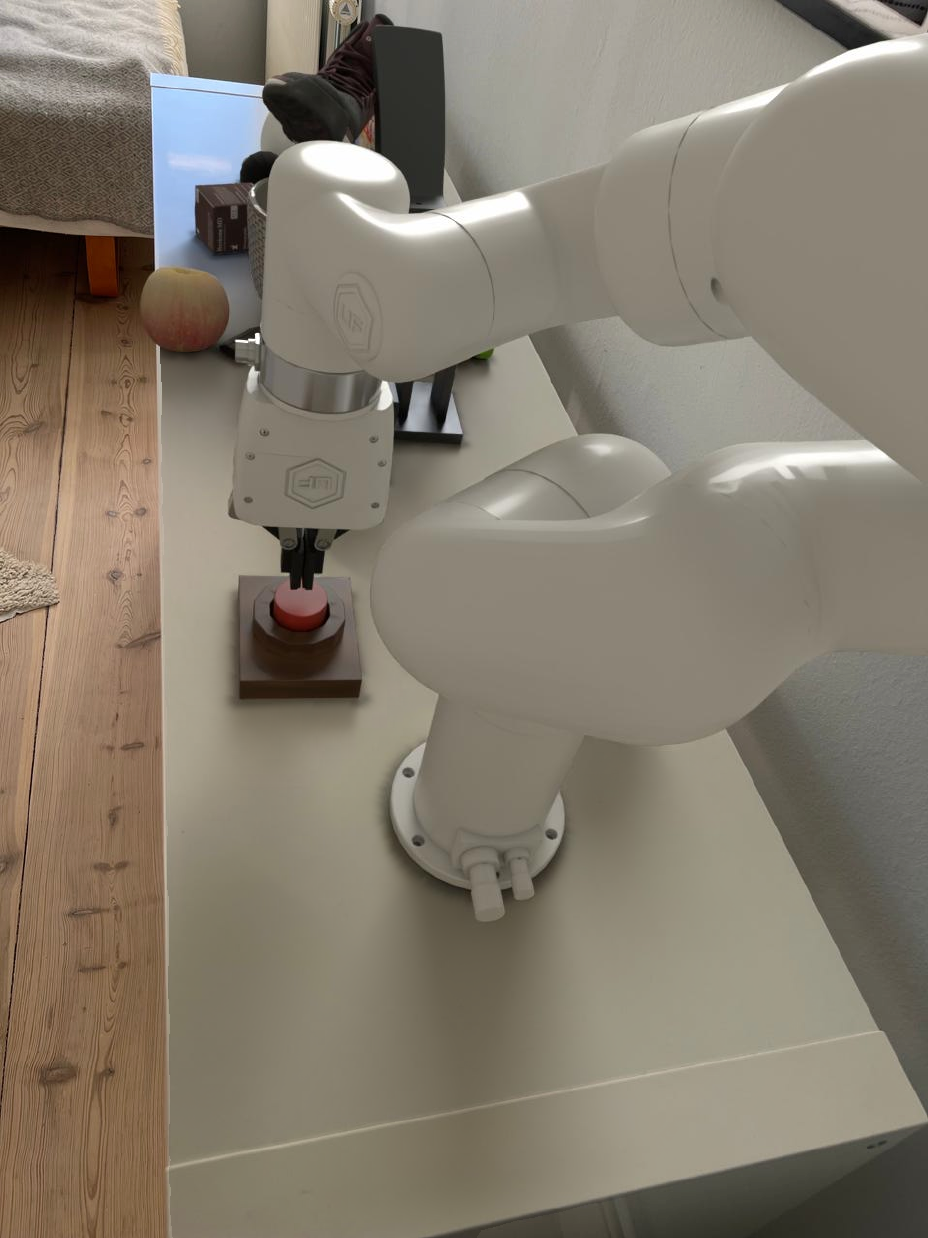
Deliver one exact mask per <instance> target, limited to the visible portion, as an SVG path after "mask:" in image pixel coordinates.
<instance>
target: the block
mask: <svg viewBox="0 0 928 1238" xmlns="http://www.w3.org/2000/svg"><path fill="white" fill-rule="evenodd" d="M255 333H259V334H260V325H257V326H253V327H249V328H247V329H245V330H243V331H242V332H240V333H238V334H236V335H234V336H233V337H231V338H229V339H228V340H226V341H223V342H222V343H220V344H219V346H218V351H219V352H220V353H222V354H224V355H225V356H227V357H230V358H231V359H233V360H235V340H236V339H239V340H248V338H254V339H255Z"/></svg>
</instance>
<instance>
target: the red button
mask: <svg viewBox="0 0 928 1238" xmlns="http://www.w3.org/2000/svg"><path fill="white" fill-rule="evenodd" d="M327 601H328V598H327V594H326V592H325V590H324V589H323V588H322V587H321V586H320V585H318V584H317V583H315V582H313V589H312V590H305V588H302V579H301V587H300V588H298V590H290V580H289V581H286V582H284V583H282V584H281V585H280V586H279V587H278V588H277V589H276V591H275V594H274V607H273V614H274V617H275V619H276V621H277V622H278V623H279V624H280V625H281V626H283V627H284V628H286V629H288V630H291V631H296V632H306V631H311V630H313V629H316V628H317V627H319V626H320V625H321V624H322V623H323V621H324V620H325V617H326V609H327Z"/></svg>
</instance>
